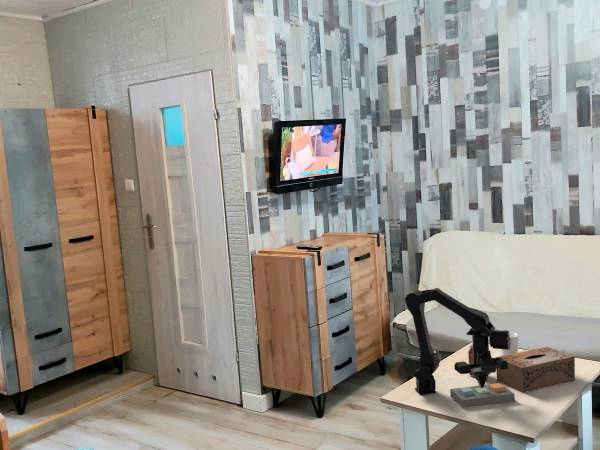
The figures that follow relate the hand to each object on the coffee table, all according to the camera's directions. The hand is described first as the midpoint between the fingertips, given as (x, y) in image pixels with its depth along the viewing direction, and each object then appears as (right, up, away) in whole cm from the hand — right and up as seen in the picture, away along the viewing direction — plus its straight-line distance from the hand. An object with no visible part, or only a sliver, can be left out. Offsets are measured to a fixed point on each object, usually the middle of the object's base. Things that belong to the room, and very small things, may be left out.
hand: (481, 388), depth 223 cm
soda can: (+6, -2, +24) cm, 25 cm away
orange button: (+6, -2, +1) cm, 7 cm away
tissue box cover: (+26, -2, +15) cm, 30 cm away
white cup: (+26, +2, +44) cm, 51 cm away
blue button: (-6, -3, -1) cm, 7 cm away
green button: (0, -4, 0) cm, 4 cm away
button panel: (0, -4, 0) cm, 4 cm away
